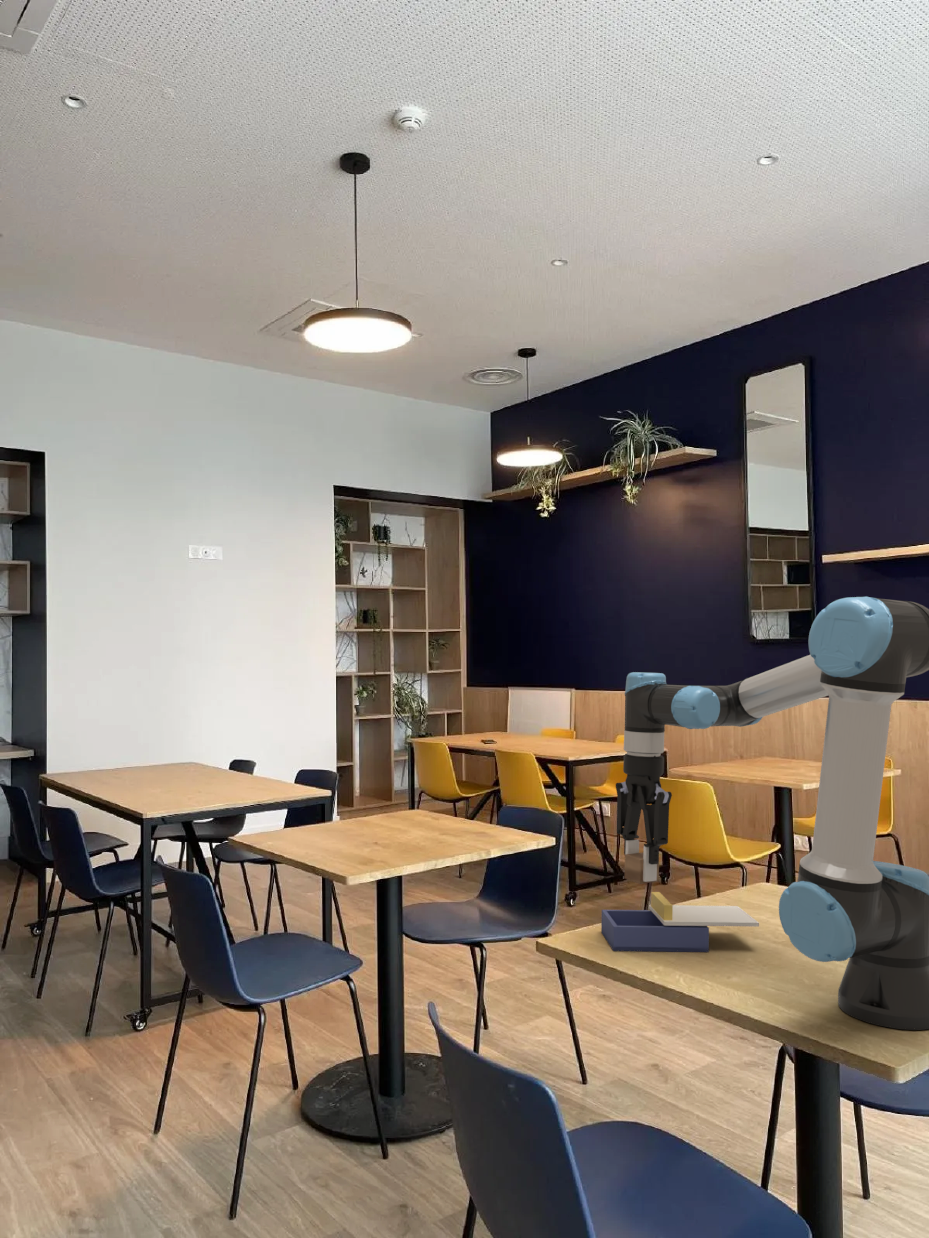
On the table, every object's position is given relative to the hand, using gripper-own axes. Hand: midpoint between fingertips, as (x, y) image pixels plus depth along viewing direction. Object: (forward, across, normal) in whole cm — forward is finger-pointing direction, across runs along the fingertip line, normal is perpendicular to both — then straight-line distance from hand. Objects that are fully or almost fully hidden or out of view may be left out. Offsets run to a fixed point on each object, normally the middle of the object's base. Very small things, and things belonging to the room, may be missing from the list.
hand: (640, 877), depth 177 cm
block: (0, 0, 0) cm, 1 cm away
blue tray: (+13, +2, -6) cm, 15 cm away
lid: (+9, -2, -14) cm, 17 cm away
